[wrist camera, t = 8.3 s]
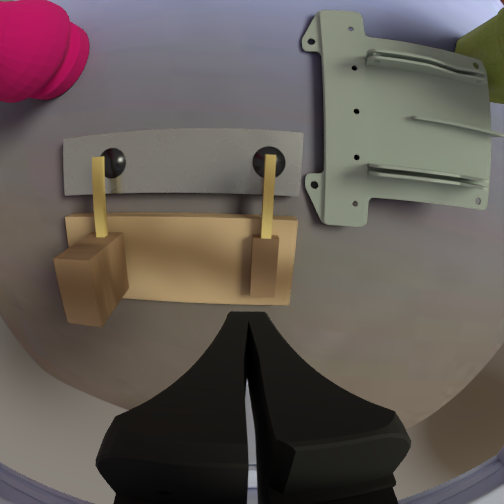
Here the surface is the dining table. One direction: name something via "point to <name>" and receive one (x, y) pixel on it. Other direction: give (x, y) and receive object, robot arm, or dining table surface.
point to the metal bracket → (397, 122)
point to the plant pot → (488, 53)
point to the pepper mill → (38, 50)
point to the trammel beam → (204, 252)
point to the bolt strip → (184, 161)
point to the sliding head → (93, 265)
